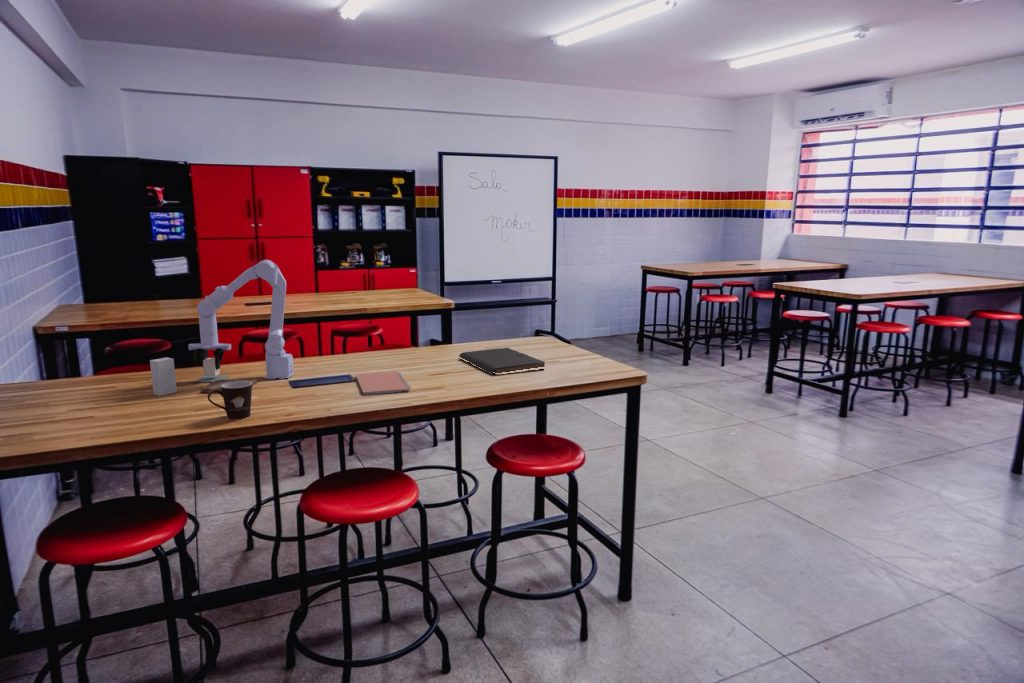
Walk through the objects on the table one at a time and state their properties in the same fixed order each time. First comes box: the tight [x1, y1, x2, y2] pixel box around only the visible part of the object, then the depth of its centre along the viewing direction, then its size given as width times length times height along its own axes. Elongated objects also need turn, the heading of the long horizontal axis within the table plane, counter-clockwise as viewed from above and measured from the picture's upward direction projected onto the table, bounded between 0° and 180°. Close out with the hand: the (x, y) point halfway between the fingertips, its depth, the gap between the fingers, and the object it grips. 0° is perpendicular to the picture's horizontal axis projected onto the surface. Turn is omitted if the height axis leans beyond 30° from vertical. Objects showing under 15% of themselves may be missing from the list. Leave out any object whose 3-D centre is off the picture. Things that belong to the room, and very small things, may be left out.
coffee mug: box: [207, 381, 253, 420], centre depth 188 cm, size 12×9×10 cm
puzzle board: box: [201, 379, 257, 393], centre depth 220 cm, size 14×13×2 cm
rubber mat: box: [194, 375, 230, 383], centre depth 232 cm, size 9×9×1 cm
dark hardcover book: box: [458, 347, 546, 375], centre depth 264 cm, size 33×4×24 cm
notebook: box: [355, 370, 412, 396], centre depth 229 cm, size 27×17×2 cm, turn 19°
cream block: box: [202, 357, 221, 377], centre depth 231 cm, size 4×4×6 cm
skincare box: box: [149, 356, 178, 397], centre depth 212 cm, size 6×4×12 cm
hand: (211, 368), depth 231 cm, fingers closed on cream block, 4 cm apart
